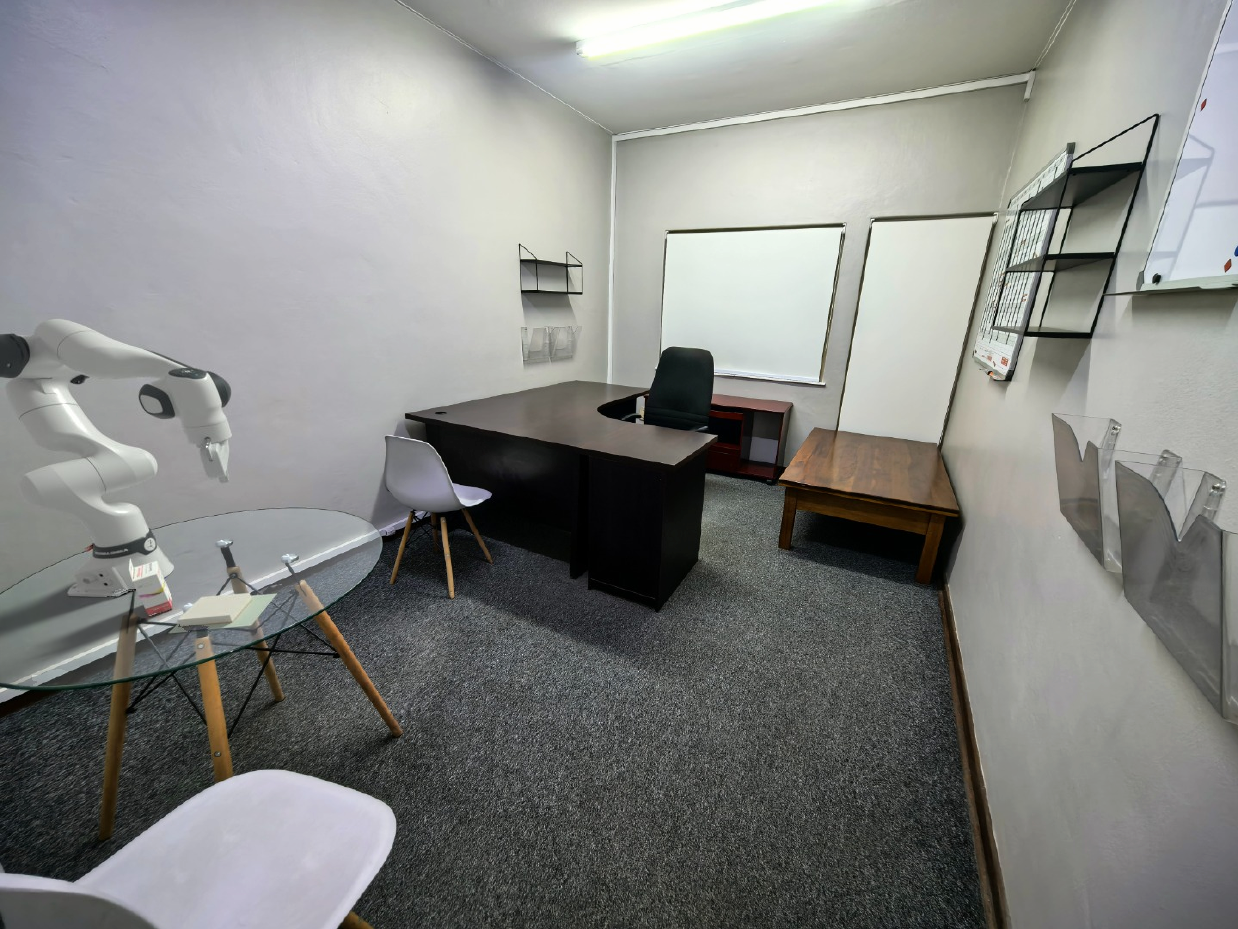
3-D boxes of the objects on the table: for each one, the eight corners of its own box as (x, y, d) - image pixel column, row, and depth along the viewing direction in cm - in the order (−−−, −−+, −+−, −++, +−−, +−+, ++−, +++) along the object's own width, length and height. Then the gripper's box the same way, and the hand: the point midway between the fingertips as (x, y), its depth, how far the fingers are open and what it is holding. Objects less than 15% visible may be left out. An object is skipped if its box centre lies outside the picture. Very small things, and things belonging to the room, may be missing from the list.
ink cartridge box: (174, 609, 124) (153, 564, 118) (148, 618, 121) (126, 572, 115) (172, 594, 129) (152, 551, 124) (148, 602, 126) (127, 558, 121)
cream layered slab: (232, 622, 119) (180, 627, 117) (252, 599, 127) (204, 604, 125) (229, 615, 118) (177, 619, 116) (249, 593, 126) (201, 597, 124)
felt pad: (168, 634, 115) (168, 633, 115) (203, 601, 127) (202, 599, 127) (251, 626, 118) (250, 625, 118) (277, 594, 130) (277, 593, 130)
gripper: (221, 442, 111) (238, 492, 116) (226, 420, 126) (240, 465, 131) (187, 447, 107) (206, 499, 113) (196, 423, 122) (212, 470, 128)
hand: (225, 480), depth 122 cm, fingers closed
